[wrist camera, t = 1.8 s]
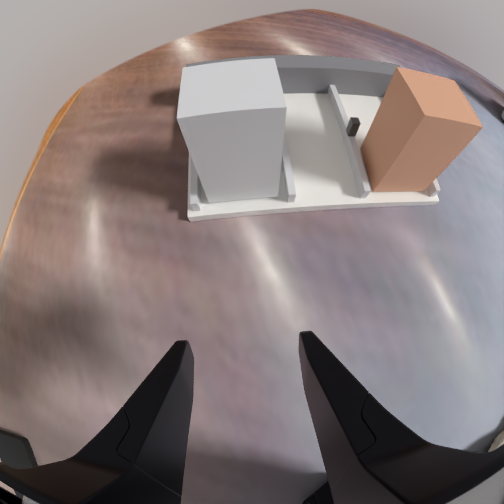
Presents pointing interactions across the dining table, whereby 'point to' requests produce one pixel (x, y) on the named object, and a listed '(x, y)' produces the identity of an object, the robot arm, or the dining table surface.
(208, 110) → the tall white block
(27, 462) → the smart home device
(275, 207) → the base
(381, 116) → the tall tan brick
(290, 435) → the dining table surface
